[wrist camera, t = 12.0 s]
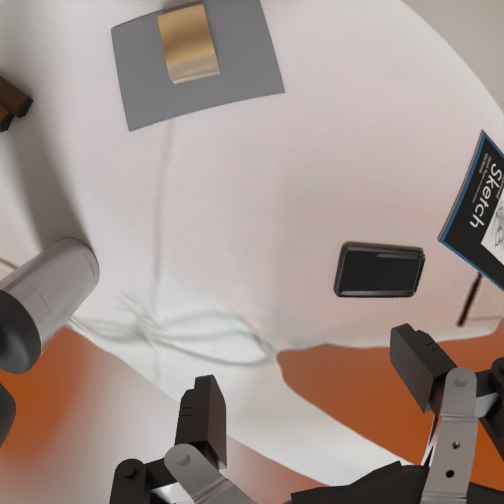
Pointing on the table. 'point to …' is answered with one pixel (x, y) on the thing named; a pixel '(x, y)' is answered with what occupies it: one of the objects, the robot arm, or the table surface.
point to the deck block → (187, 45)
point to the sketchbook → (480, 214)
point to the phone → (378, 272)
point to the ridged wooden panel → (11, 104)
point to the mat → (202, 90)
